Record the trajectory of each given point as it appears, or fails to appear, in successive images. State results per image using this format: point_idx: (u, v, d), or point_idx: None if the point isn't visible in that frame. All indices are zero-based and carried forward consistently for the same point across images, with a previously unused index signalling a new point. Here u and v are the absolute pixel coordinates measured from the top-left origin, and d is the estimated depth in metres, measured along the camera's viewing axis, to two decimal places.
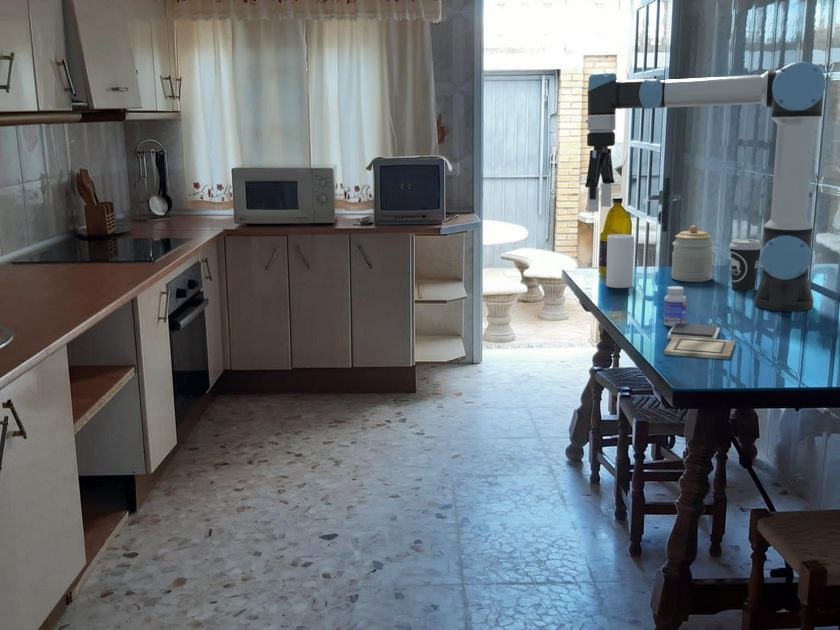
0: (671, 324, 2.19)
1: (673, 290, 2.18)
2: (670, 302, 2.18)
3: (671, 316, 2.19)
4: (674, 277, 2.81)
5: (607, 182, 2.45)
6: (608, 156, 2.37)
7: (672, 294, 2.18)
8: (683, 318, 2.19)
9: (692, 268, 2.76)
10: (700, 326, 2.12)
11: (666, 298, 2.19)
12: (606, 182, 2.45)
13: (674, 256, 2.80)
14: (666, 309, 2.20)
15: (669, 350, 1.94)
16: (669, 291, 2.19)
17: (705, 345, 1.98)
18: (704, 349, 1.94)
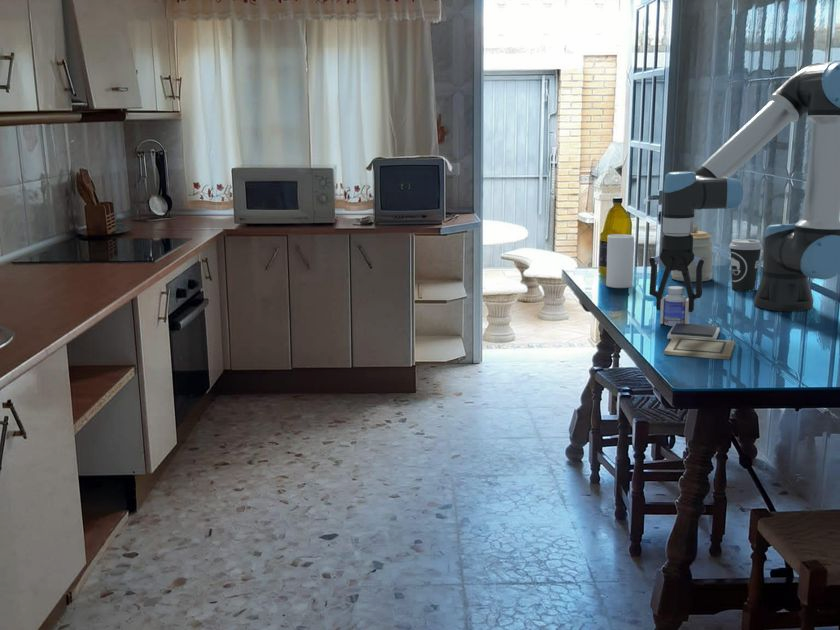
0: (671, 324, 2.19)
1: (673, 290, 2.18)
2: (670, 302, 2.18)
3: (671, 316, 2.19)
4: (674, 277, 2.81)
5: (688, 298, 2.19)
6: (678, 261, 2.16)
7: (672, 294, 2.18)
8: (683, 318, 2.19)
9: (692, 268, 2.76)
10: (700, 326, 2.12)
11: (666, 298, 2.19)
12: None
13: None
14: (666, 309, 2.20)
15: (669, 350, 1.94)
16: (669, 291, 2.19)
17: (705, 345, 1.98)
18: (704, 349, 1.94)
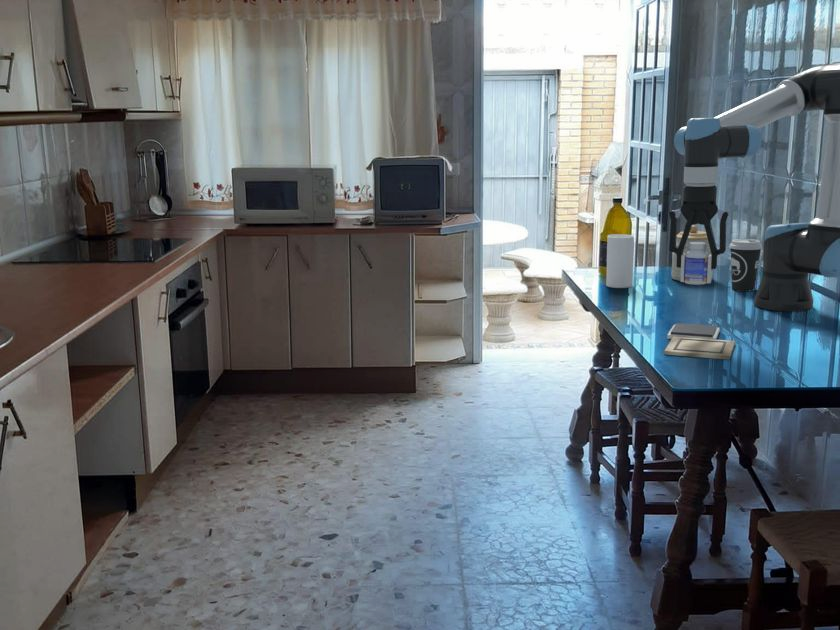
0: (692, 282, 2.05)
1: (695, 245, 2.04)
2: (692, 258, 2.04)
3: (692, 273, 2.05)
4: (674, 277, 2.81)
5: None
6: (701, 213, 2.02)
7: (693, 249, 2.04)
8: (705, 275, 2.05)
9: None
10: (700, 326, 2.12)
11: (687, 254, 2.05)
12: (711, 254, 2.05)
13: (674, 256, 2.80)
14: (687, 266, 2.06)
15: (669, 350, 1.94)
16: (690, 246, 2.05)
17: (705, 345, 1.98)
18: (704, 349, 1.94)
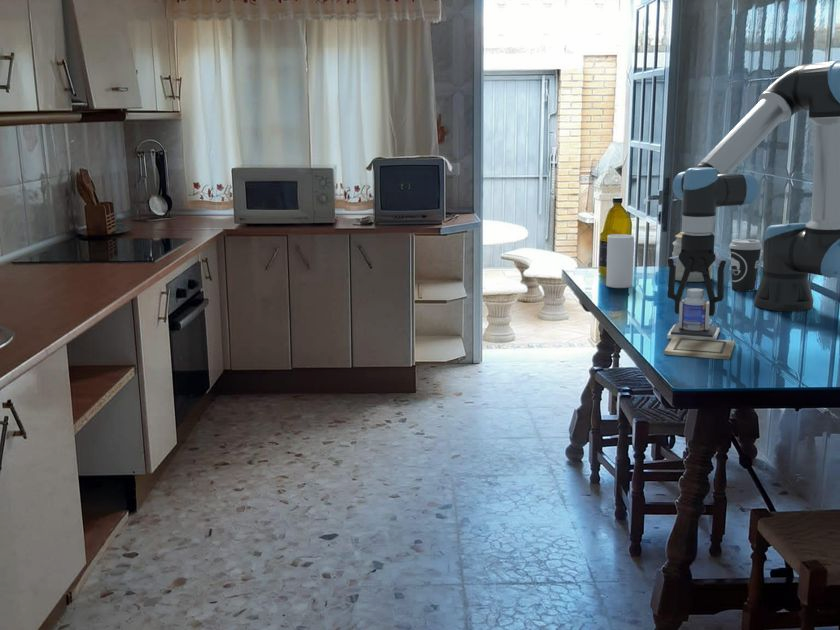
0: (690, 328, 2.08)
1: (693, 292, 2.06)
2: (690, 305, 2.07)
3: (690, 319, 2.07)
4: None
5: None
6: (699, 262, 2.04)
7: (691, 296, 2.07)
8: (703, 322, 2.07)
9: None
10: None
11: (685, 301, 2.08)
12: None
13: (674, 256, 2.80)
14: (685, 312, 2.08)
15: (669, 350, 1.94)
16: (688, 293, 2.07)
17: (705, 345, 1.98)
18: (704, 349, 1.94)
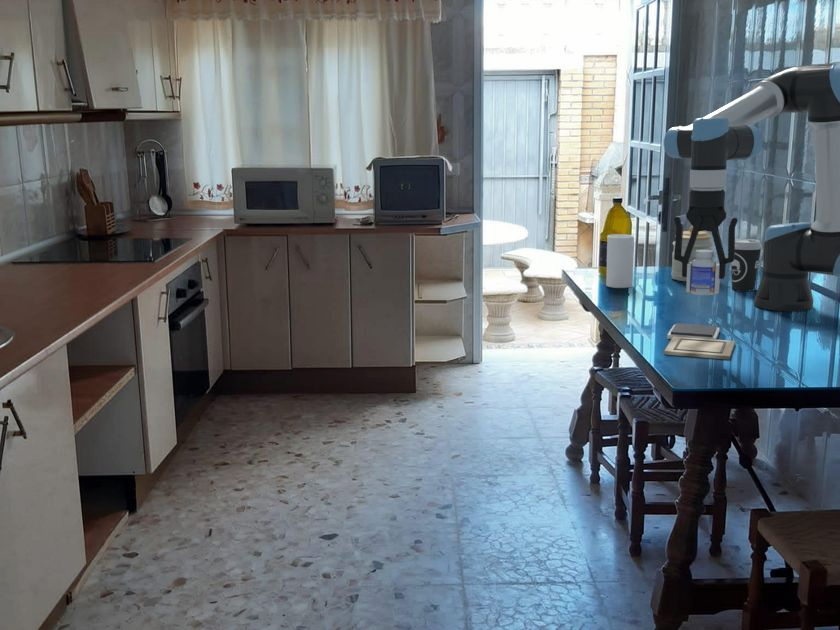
0: (699, 292, 1.92)
1: (702, 253, 1.91)
2: (698, 267, 1.91)
3: (699, 283, 1.92)
4: (674, 277, 2.81)
5: None
6: (708, 219, 1.89)
7: (700, 258, 1.91)
8: (713, 286, 1.92)
9: None
10: (700, 326, 2.12)
11: (693, 263, 1.92)
12: None
13: None
14: (693, 275, 1.93)
15: (669, 350, 1.94)
16: (697, 255, 1.92)
17: (705, 345, 1.98)
18: (704, 349, 1.94)
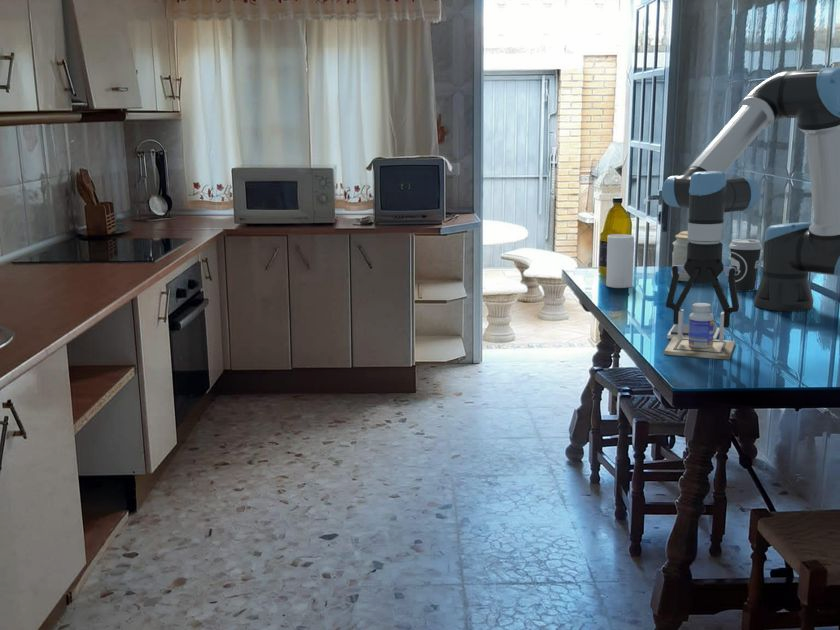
0: (697, 345, 1.95)
1: (699, 307, 1.94)
2: (696, 321, 1.94)
3: (697, 336, 1.95)
4: None
5: (724, 312, 1.93)
6: (706, 272, 1.92)
7: (698, 311, 1.94)
8: (710, 339, 1.95)
9: None
10: None
11: (691, 316, 1.95)
12: None
13: (674, 256, 2.80)
14: (691, 329, 1.96)
15: (669, 350, 1.94)
16: (695, 308, 1.95)
17: None
18: (704, 349, 1.94)
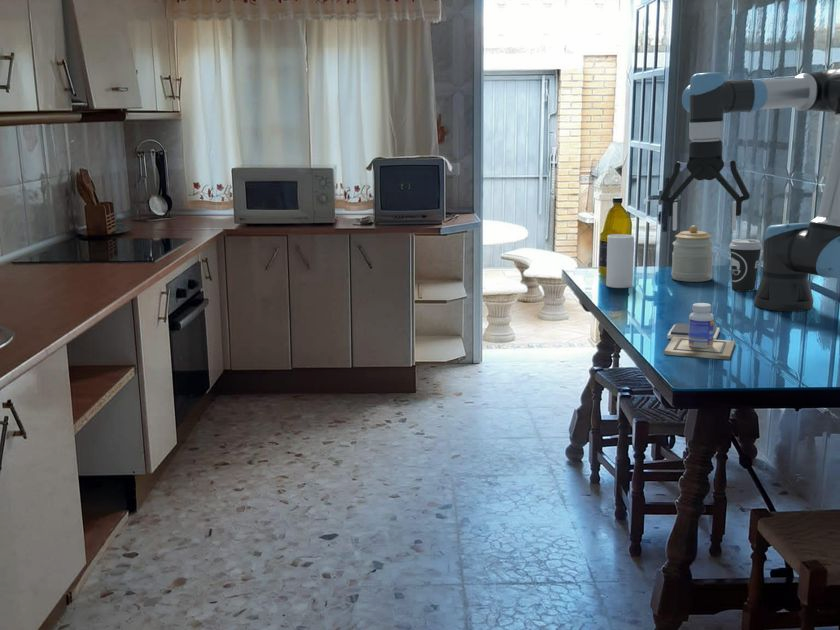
0: (697, 345, 1.95)
1: (699, 307, 1.94)
2: (696, 321, 1.94)
3: (697, 336, 1.95)
4: (674, 277, 2.81)
5: (736, 201, 2.03)
6: (708, 169, 2.02)
7: (698, 311, 1.94)
8: (710, 339, 1.95)
9: (692, 268, 2.76)
10: None
11: (691, 316, 1.95)
12: (736, 201, 2.03)
13: (674, 256, 2.80)
14: (691, 329, 1.96)
15: (669, 350, 1.94)
16: (695, 308, 1.95)
17: None
18: (704, 349, 1.94)
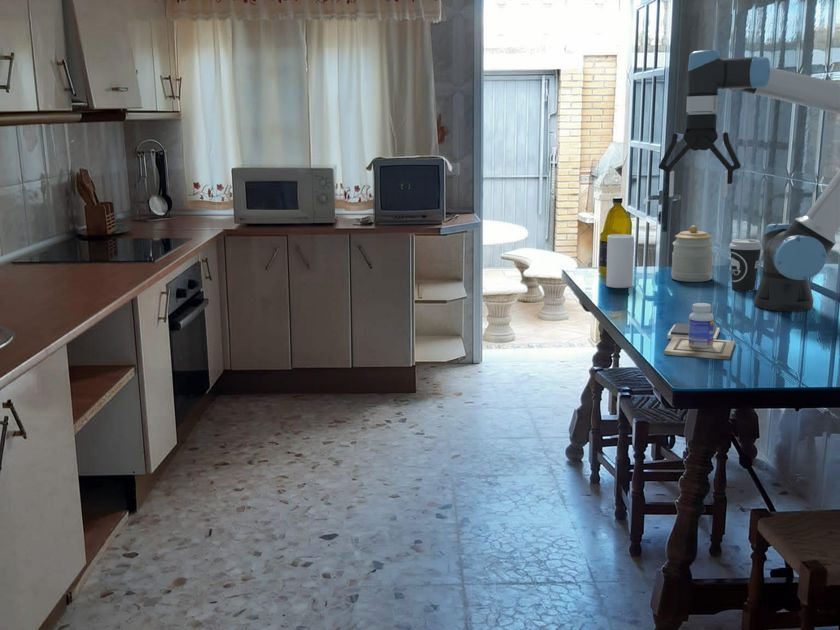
0: (697, 345, 1.95)
1: (699, 307, 1.94)
2: (696, 321, 1.94)
3: (697, 336, 1.95)
4: (674, 277, 2.81)
5: None
6: (703, 140, 2.20)
7: (698, 311, 1.94)
8: (710, 339, 1.95)
9: (692, 268, 2.76)
10: None
11: (691, 316, 1.95)
12: None
13: (674, 256, 2.80)
14: (691, 329, 1.96)
15: (669, 350, 1.94)
16: (695, 308, 1.95)
17: None
18: (704, 349, 1.94)
